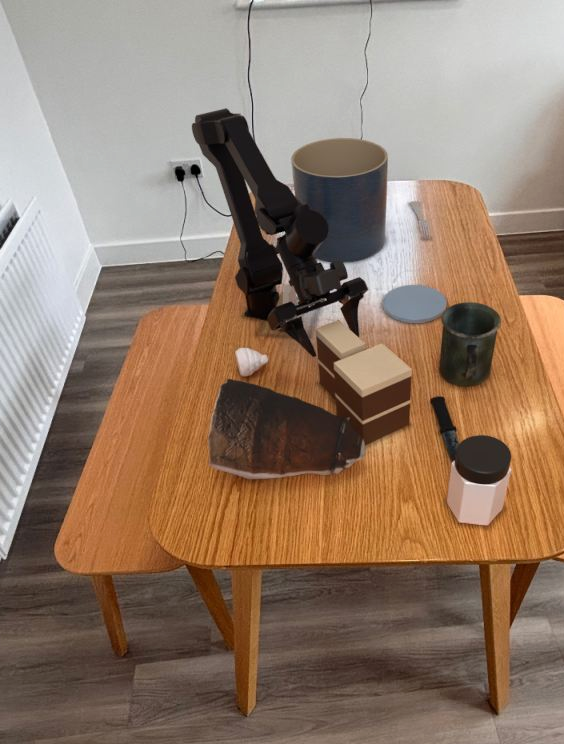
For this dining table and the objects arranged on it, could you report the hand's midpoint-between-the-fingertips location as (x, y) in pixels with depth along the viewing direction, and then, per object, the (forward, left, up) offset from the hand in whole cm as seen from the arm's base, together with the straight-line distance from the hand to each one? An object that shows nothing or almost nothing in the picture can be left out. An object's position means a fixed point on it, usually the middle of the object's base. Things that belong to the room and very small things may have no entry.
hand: (336, 348), depth 117 cm
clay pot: (0, -22, -9) cm, 24 cm away
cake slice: (+1, -1, -9) cm, 9 cm away
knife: (+24, -7, -9) cm, 27 cm away
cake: (+10, -7, -9) cm, 15 cm away
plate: (+5, +32, -9) cm, 34 cm away
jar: (+32, -21, -9) cm, 39 cm away
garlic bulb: (-18, -1, -9) cm, 20 cm away
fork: (-6, +71, -9) cm, 72 cm away
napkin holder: (-19, +19, -9) cm, 29 cm away
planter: (-21, +54, -9) cm, 59 cm away
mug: (+22, +11, -9) cm, 26 cm away
